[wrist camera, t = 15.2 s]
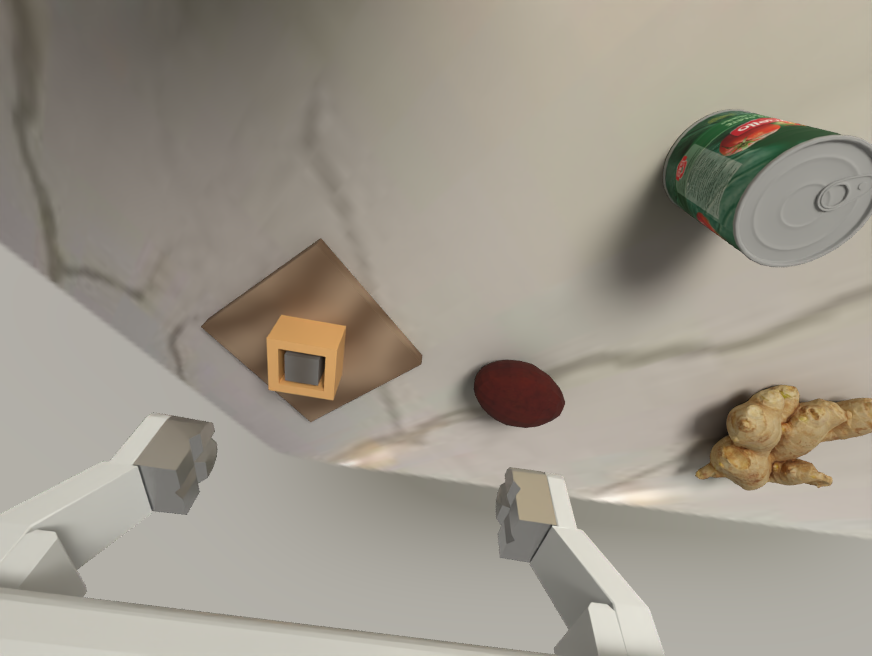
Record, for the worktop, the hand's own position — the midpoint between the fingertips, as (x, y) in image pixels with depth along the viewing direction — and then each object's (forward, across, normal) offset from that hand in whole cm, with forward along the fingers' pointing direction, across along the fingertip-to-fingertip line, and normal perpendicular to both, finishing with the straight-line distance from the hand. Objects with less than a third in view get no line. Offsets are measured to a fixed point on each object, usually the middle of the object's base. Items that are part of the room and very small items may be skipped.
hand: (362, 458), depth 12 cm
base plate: (+29, +8, +18) cm, 35 cm away
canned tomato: (+29, -23, -6) cm, 37 cm away
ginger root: (+29, -43, +20) cm, 55 cm away
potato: (+29, -14, +19) cm, 37 cm away
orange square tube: (+28, +8, +18) cm, 34 cm away
